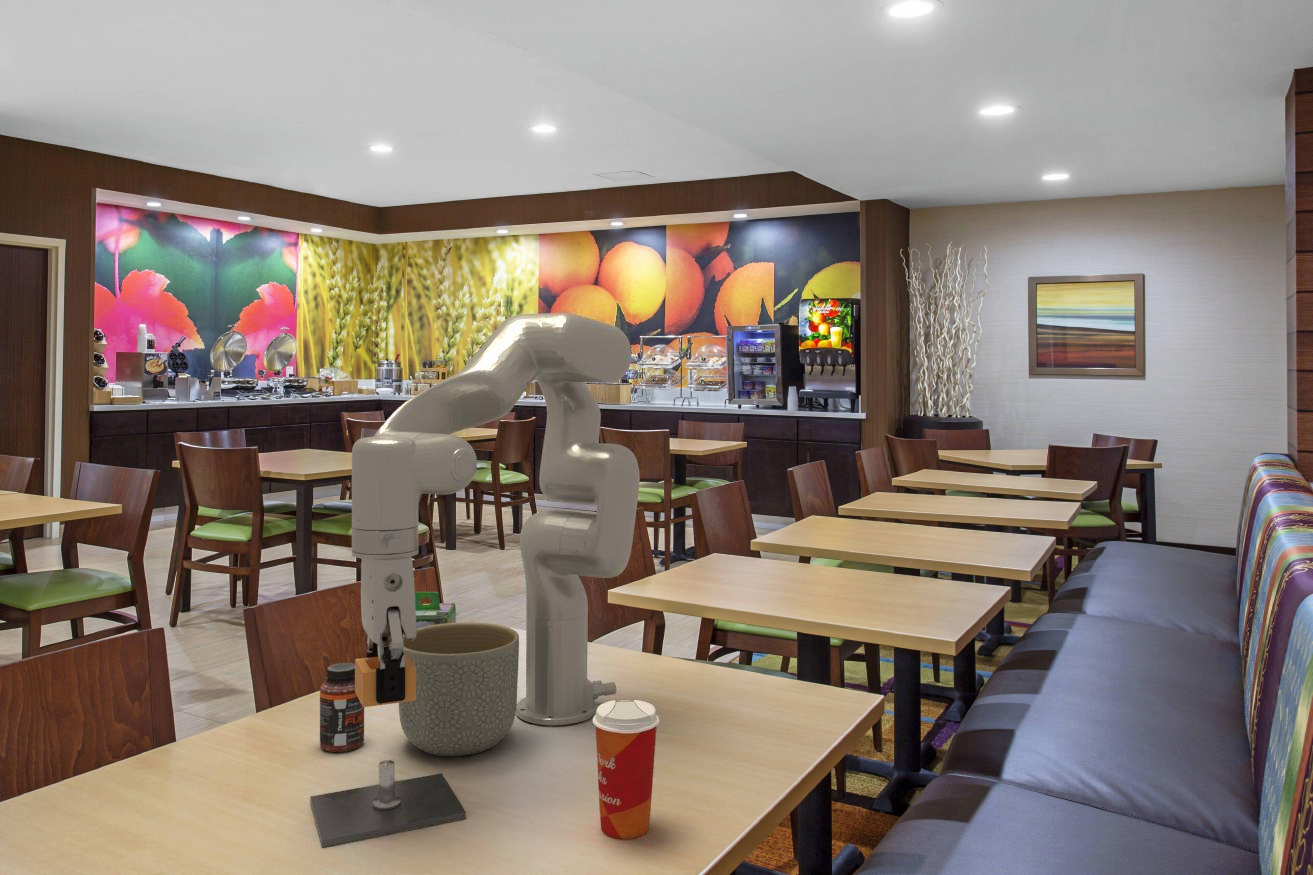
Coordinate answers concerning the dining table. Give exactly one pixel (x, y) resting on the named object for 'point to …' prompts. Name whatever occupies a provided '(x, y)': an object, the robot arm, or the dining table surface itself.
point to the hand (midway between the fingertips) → (385, 691)
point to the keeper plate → (385, 807)
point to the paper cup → (625, 766)
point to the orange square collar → (367, 681)
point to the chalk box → (433, 610)
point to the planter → (461, 687)
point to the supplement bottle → (340, 710)
